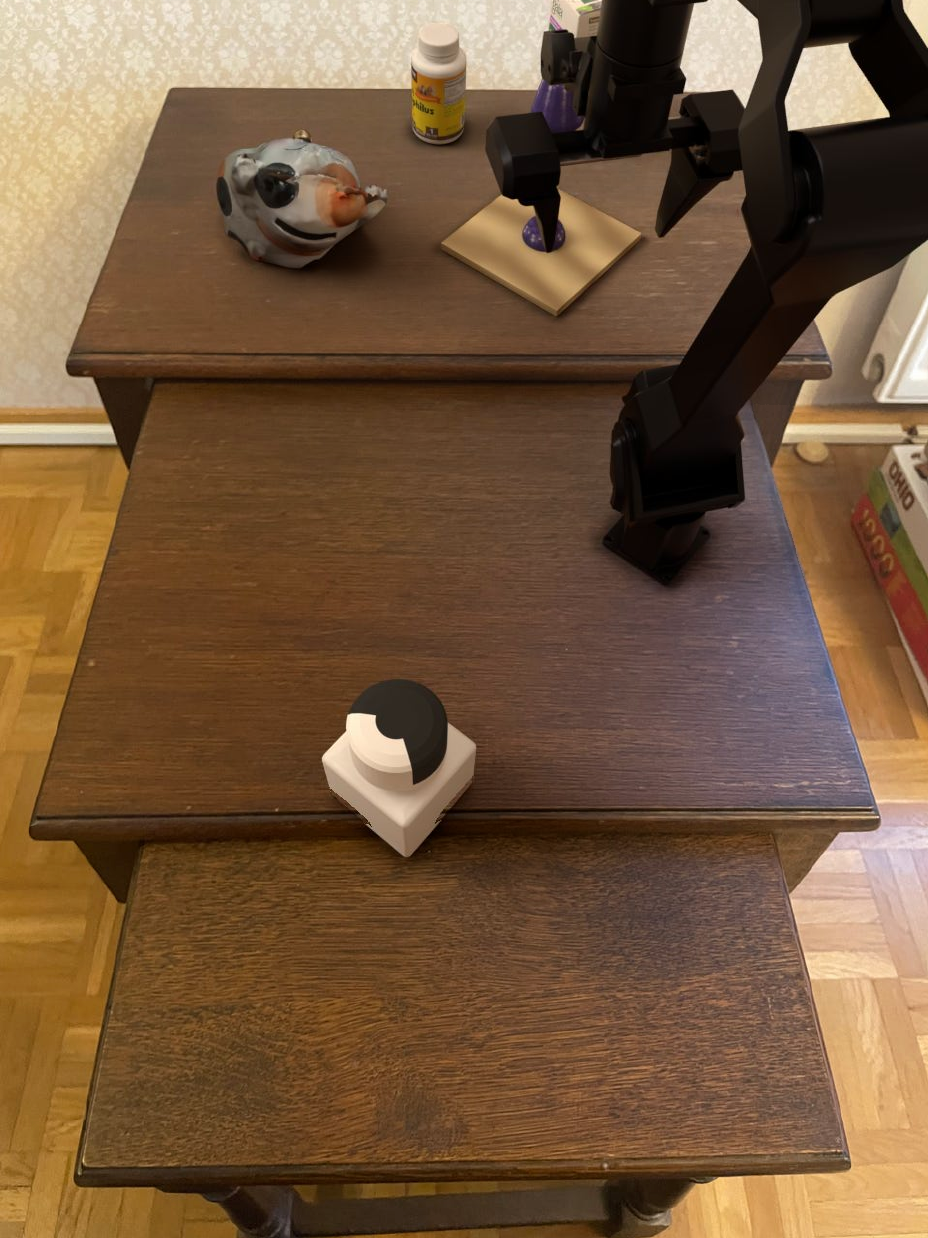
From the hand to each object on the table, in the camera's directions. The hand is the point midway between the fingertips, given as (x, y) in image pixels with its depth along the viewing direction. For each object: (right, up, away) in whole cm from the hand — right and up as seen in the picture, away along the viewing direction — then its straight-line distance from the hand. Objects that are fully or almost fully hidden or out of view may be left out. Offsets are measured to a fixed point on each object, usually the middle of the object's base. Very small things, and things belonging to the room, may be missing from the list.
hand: (603, 241), depth 76 cm
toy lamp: (-3, +7, +18) cm, 20 cm away
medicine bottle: (-15, -42, -9) cm, 45 cm away
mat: (-3, +7, +19) cm, 20 cm away
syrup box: (0, +22, +28) cm, 35 cm away
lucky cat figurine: (-26, +8, +19) cm, 33 cm away
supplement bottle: (-14, +22, +27) cm, 38 cm away
